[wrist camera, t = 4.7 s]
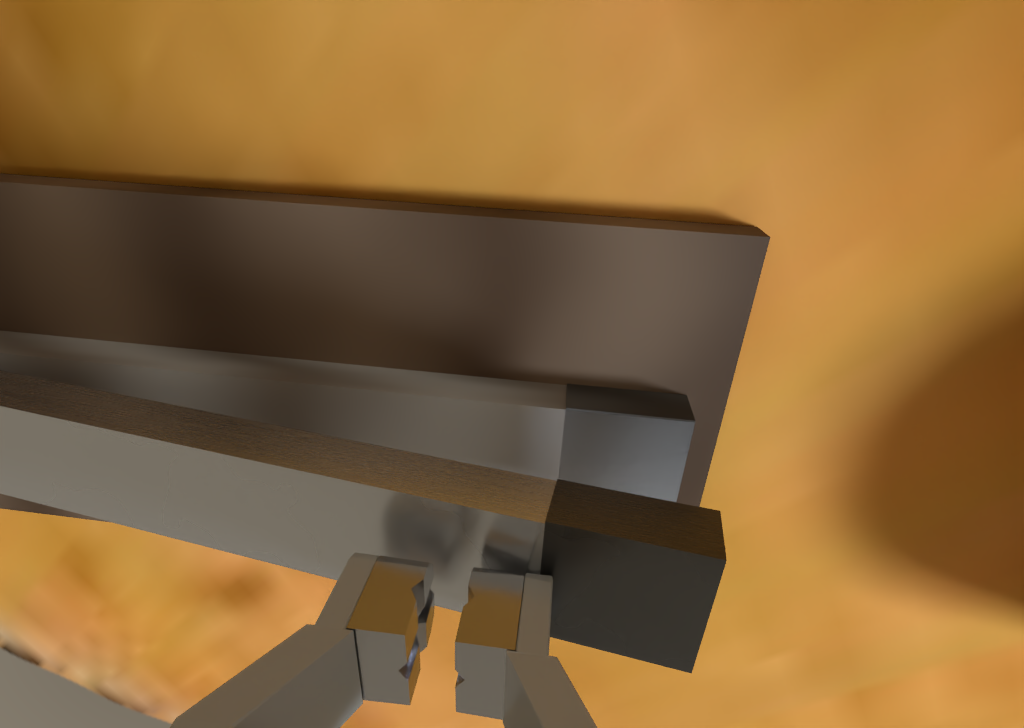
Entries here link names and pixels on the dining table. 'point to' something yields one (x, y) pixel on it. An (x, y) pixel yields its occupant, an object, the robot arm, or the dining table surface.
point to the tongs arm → (368, 510)
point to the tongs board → (389, 322)
